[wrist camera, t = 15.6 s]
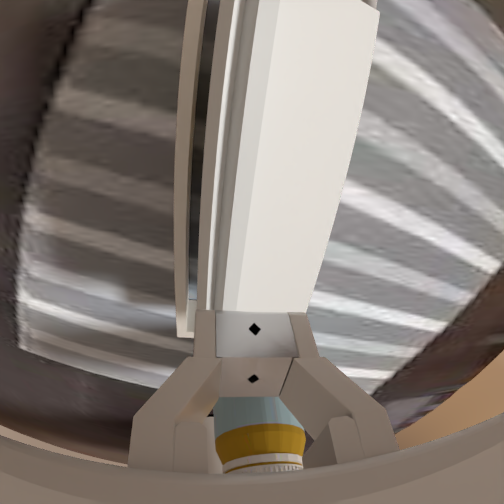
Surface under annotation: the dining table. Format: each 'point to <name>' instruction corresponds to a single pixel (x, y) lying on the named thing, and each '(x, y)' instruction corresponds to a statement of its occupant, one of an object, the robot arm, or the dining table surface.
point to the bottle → (257, 435)
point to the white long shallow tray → (188, 160)
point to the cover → (278, 146)
